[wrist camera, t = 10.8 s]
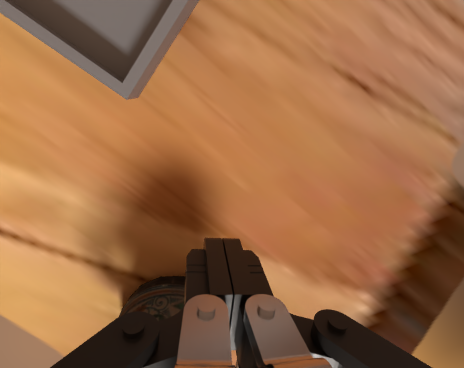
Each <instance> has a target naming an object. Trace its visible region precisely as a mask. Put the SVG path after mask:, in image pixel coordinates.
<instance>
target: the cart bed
mask: <svg viewBox="0 0 464 368" xmlns="http://www.w3.org/2000/svg"><path fill="white" fill-rule="evenodd" d="M198 1H199V0H0V13H2V14H3V15H4V16H6V17H7V18H9V19H10V20H12V21H13V22H15V23H16V24H18V25H19V26H20V27H22V28H23V29H25V30H26V31H28V32H29V33H31V34H32V35H33V36H35V37H36V38H38V39H39V40H41V41H42V42H44V43H45V44H47V45H48V46H49V47H51V48H52V49H54V50H55V51H57V52H58V53H60V54H61V55H63V56H64V57H65V58H67V59H68V60H70V61H71V62H73V63H74V64H76V65H77V66H78V67H80V68H81V69H83V70H84V71H86V72H87V73H89V74H90V75H92V76H93V77H94V78H96V79H97V80H99V81H100V82H102V83H103V84H105V85H106V86H108V87H109V88H110V89H112V90H113V91H115V92H116V93H118V94H119V95H121V96H122V97H123V98H125V99H126V100H128V99H133V98H138V97H139V95H140V94H141V92H142V90H143V89H144V87H145V86H146V84H147V82H148V81H149V79H150V78H151V76H152V75H153V73H154V71H155V70H156V68H157V67H158V65H159V63H160V62H161V60H162V59H163V57H164V55H165V54H166V52H167V51H168V49H169V47H170V46H171V44H172V43H173V41H174V40H175V38H176V36H177V35H178V33H179V32H180V30H181V28H182V27H183V25H184V24H185V22H186V20H187V19H188V17H189V16H190V14H191V13H192V11H193V9H194V8H195V6H196V5H197V3H198Z"/></svg>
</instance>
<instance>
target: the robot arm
mask: <svg viewBox="0 0 464 368" xmlns="http://www.w3.org/2000/svg"><path fill="white" fill-rule="evenodd" d="M261 266H262V265H261V263H260V260H259V258H258V257H257V256H256V255H255V254H254V253H253V252H252V251H251V250H243V248H242V245H241V242H240V239H231V238H205V239H204V247H203V249H192V250H191V251H190V253H189V254H188V255H187V262H186V276H185V297H184V306H183V308H182V309H181V310H180V311H179V312H178V313H177V314H175V315H174V316H172V317H170V318H167V319H163V320H160V321H158V320H157V319H156V318H155V317H154V316H153V315H151V314H149V313H146V312H141V311H136V312H130V313H127V314H124V315H122V316H120V317H118V318H117V319H115V320H114V321H113V322H111V323H110V324H109V325H107V326H106V327H105V328H103V329H102V330H101V331H99V332H98V333H96V334H95V335H94V336H92V337H91V338H90V339H88V340H87V341H86V342H84V343H83V344H82V345H80V346H79V347H77V348H76V349H75V350H73V351H72V352H71V353H69V354H68V355H67V356H65V357H64V358H63V359H61V360H60V361H58V362H57V363H56V364H54V365H53V366H52V367H50V368H431V367H430V366H429V365H427V364H425V363H423V362H422V361H420V360H419V359H417V358H415V357H414V356H412V355H410V354H409V353H407V352H406V351H404V350H402V349H401V348H399V347H397V346H396V345H394V344H392V343H391V342H389V341H387V340H386V339H384V338H382V337H381V336H379V335H378V334H376V333H374V332H373V331H371V330H369V329H368V328H366V327H364V326H363V325H361V324H359V323H358V322H356V321H355V320H353V319H351V318H350V317H348V316H346V315H345V314H343V313H340V312H338V311H335V310H328V309H326V310H321V311H319V312H317V313H316V314H315V317H314V320H312V319H308V318H304V317H300V316H296V315H293V314H291V313H289V312H288V310H287V308H286V306H285V305H284V304H283V302H281V301H280V300H279V299H277V298H275V297H274V296H273V293H272V291H271V288H270V286H269V283H268V281H267V278H266V276H265V274H264V270H263V268H262V267H261ZM231 350H236V354H237V362H236V367H235V365H232V358H231Z"/></svg>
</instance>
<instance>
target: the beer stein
mask: <svg viewBox="0 0 464 368" xmlns="http://www.w3.org/2000/svg"><path fill="white" fill-rule="evenodd" d="M184 297H185V277H184V276H174V277H159V278H157V279H154V280H152V281H150V282H148V283H145V284H143V285H141V286H140V287H139V288H138V289H137V290H136V291H135V292H134V293H133V294H132V295H131V296H130V298H129V300H128V302H127V303H126V304H125V306H124V307H123V309H122V311H121V313H120V315H119V317H120V316H122V315H124V314H127V313H130V312H136V311H141V312H146V313H149V314H151V315H153V316H154V317H155V318H156V319H157V320H158V321H160V320H163V319H167V318H170V317H172V316H174V315H175V314H177V313H178V312H179V311H180V310H181V309H182V308H183V306H184Z"/></svg>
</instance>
